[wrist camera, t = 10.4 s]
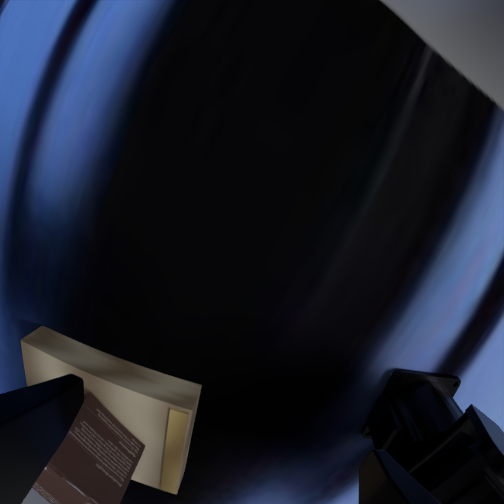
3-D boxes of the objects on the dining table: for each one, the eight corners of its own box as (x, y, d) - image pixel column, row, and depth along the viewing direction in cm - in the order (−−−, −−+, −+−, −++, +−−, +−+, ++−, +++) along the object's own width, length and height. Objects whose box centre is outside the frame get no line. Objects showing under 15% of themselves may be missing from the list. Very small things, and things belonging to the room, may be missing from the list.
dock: (201, 385, 21) (191, 412, 18) (184, 471, 24) (176, 496, 21) (42, 325, 22) (19, 341, 19) (53, 417, 24) (37, 435, 21)
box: (54, 410, 20) (7, 464, 13) (91, 388, 19) (36, 452, 12) (105, 461, 21) (70, 520, 14) (149, 446, 20) (114, 519, 13)
